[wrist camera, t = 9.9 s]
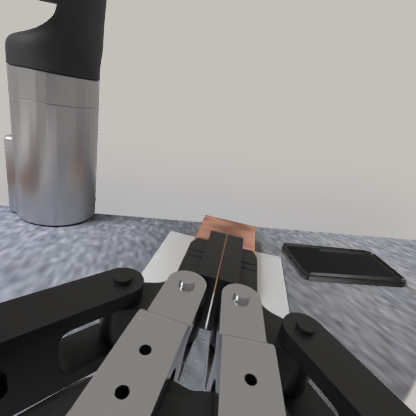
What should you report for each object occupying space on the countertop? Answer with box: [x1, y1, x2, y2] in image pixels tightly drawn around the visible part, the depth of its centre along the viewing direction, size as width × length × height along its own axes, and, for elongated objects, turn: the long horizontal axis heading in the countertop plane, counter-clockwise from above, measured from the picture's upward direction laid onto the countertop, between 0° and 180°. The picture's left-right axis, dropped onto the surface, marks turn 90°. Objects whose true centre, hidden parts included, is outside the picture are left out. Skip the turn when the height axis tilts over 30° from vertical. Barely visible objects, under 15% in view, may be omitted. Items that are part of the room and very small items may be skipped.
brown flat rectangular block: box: [194, 215, 255, 293], centre depth 33 cm, size 7×2×13 cm
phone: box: [282, 243, 406, 287], centre depth 38 cm, size 8×1×15 cm
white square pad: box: [142, 231, 289, 329], centre depth 31 cm, size 15×15×1 cm
